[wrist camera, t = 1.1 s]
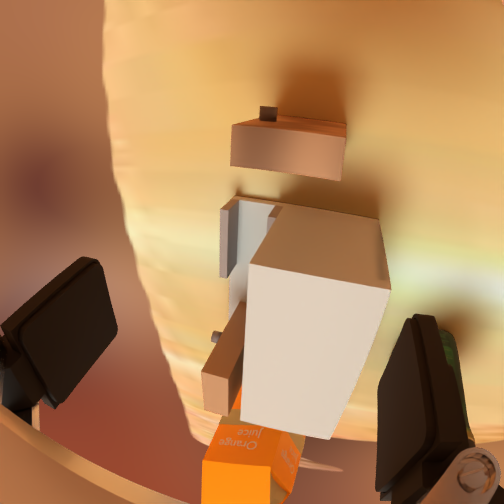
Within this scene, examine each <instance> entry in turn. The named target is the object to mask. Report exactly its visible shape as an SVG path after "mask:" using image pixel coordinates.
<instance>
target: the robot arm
mask: <svg viewBox="0 0 504 504" xmlns="http://www.w3.org/2000/svg"><path fill="white" fill-rule="evenodd" d="M0 326H1V328H2V330H3V332H4V334H5V335H4V336H3V337H1V335H0V504H188V503H186V502H183V501H179V500H177V499H174V498H171V497H168V496H165V495H163V494H160V493H157V492H155V491H153V490H150V489H148V488H145V487H143V486H141V485H138V484H136V483H133V482H131V481H129V480H127V479H124V478H122V477H120V476H118V475H116V474H114V473H112V472H110V471H108V470H106V469H103V468H101V467H100V466H98V465H96V464H94V463H92V462H90V461H88V460H86V459H84V458H82V457H81V456H79V455H77V454H75V453H73V452H72V451H70V450H69V449H67V448H65V447H63V446H62V445H60V444H58V443H57V442H55V441H54V440H52V439H50V438H49V437H47V436H45V435H44V434H43V433H41V432H40V427H39V400H40V399H42V400H43V402H44V403H45V404H47V405H48V406H50V407H52V408H53V409H56V408H57V406H58V405H59V404H60V403H63V402H64V401H65V400H66V399H67V397H68V396H69V395H70V393H71V392H72V391H73V390H74V388H75V387H76V385H77V384H78V383H79V382H80V381H81V379H82V378H83V377H84V375H85V374H86V373H87V372H88V370H89V369H90V368H91V366H92V365H93V364H94V363H95V361H96V360H97V359H98V358H99V356H100V355H101V354H102V353H103V352H104V350H105V349H106V348H107V347H108V345H109V344H110V343H111V341H112V340H113V339H114V338H115V336H116V335H117V331H118V328H117V327H118V326H117V323H116V319H115V315H114V312H113V308H112V304H111V301H110V296H109V292H108V288H107V284H106V280H105V275H104V271H103V267H102V266H101V265H100V262H99V261H98V260H97V259H93V258H89V257H80V258H79V259H77V260H76V261H75V262H74V263H72V264H71V265H70V266H69V267H67V268H66V269H65V270H64V271H62V272H61V273H60V274H59V275H57V276H56V277H55V278H54V279H53V280H51V282H49V283H48V284H47V285H45V286H44V287H43V288H42V289H41V290H40V291H38V292H37V293H36V294H35V295H34V296H33V297H31V298H30V299H29V300H28V301H27V302H26V303H24V304H23V305H22V306H21V307H20V308H19V309H18V310H17V311H15V312H14V313H13V314H12V315H11V316H10V317H9V318H8V319H7V320H6V321H4V322H3V323H2V325H0ZM377 398H378V431H377V465H376V481H375V489H376V491H377V492H381V493H380V501H391V504H504V489H503V488H502V487H501V486H500V485H499V481H500V475H501V471H500V467H499V463H498V461H497V460H496V458H495V457H494V456H493V455H492V454H491V453H490V452H489V451H487V450H485V449H483V448H478V447H473V448H469V441H468V435H467V429H466V423H465V418H464V413H463V408H462V403H461V398H460V394H459V389H458V385H457V381H456V377H455V373H454V369H453V367H452V366H451V365H450V364H448V363H447V359H446V355H445V351H444V347H443V344H442V340H441V337H440V333H439V330H438V326H437V323H436V320H435V317H434V316H430V315H422V314H414V315H413V317H412V319H411V318H407V319H406V321H405V323H404V325H403V328H402V331H401V333H400V336H399V338H398V341H397V343H396V345H395V348H394V350H393V352H392V355H391V357H390V359H389V362H388V364H387V366H386V368H385V371H384V373H383V375H382V377H381V379H380V382H379V385H378V391H377Z"/></svg>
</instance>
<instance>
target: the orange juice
mask: <svg viewBox="0 0 504 504" xmlns="http://www.w3.org/2000/svg"><path fill="white" fill-rule="evenodd" d="M241 397H242V386H241V388H240V390H239V393H238V395H237V397H236V400H235V402H234V405H233V407H232V409H231V412H230V414H229V416H228V417H226V416H222V418H221V420H220V422H219V426H218V428H217V430H216V432H215V435H214V437H213V439H212V441H211V443H210V446H209V448H208V450H207V452H206V454H205V457H204V459H203V461H202V504H283V503H284V501H285V500H286V499H287V497H288V496H289V494H290V493H291V492H292V488H293V485H294V481H295V477H296V473H297V469H298V465H299V461H300V457H301V455H302V451H303V447H304V442H305V436H306V435H300V434H296V433H291V432H286V431H281V430H277V429H273V428H268V427H264V426H260V425H256V424H252V423H248V422H244V421H241V420H240V415H241Z"/></svg>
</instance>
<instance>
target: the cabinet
mask: <svg viewBox="0 0 504 504" xmlns="http://www.w3.org/2000/svg"><path fill="white" fill-rule="evenodd" d="M229 275H230V280H229V322H228V324H227V326H226V327H225V329H224V331H223V333H222V332H218V331H214V332H213V334H212V337H211V342H214V343H217V344H216V345H215V347H214V349H213V351H212V353H211V355H210V356H209V358H208V360H207V362H206V364H205V365H204V367H203V369H202V371H201V376H202V387H203V398H204V408H205V410H206V411H210V412H213V413H216V414H220V415H223V416H226V417H228V416H229V414H230V412H231V409H232V407H233V405H234V402H235V400H236V397H237V395H238V393H239V390H240V388H241V386H242V397H241V415H240V420H241V421H244V422H248V423H252V424H256V425H260V426H264V427H268V428H273V429H277V430H281V431H286V432H291V433H296V434H300V435H306V436H312V437H317V438H323V439H328V440H329V439H330V438H331V436H332V434H333V432H334V430H335V428H336V426H337V424H338V422H339V420H340V417H341V415H342V413H343V411H344V409H345V407H346V405H347V403H348V400H349V398H350V396H351V394H352V392H353V389H354V387H355V385H356V383H357V380H358V378H359V376H360V373H361V371H362V368H363V366H364V364H365V361H366V359H367V356H368V354H369V351H370V349H371V346H372V344H373V341H374V338H375V336H376V333H377V330H378V328H379V325H380V322H381V319H382V317H383V314H384V311H385V308H386V305H387V302H388V299H389V296H390V293H391V284H390V277H389V271H388V265H387V259H386V254H385V248H384V243H383V238H382V233H381V228H380V223H379V220H378V219H373V218H368V217H362V216H357V215H352V214H346V213H341V212H335V211H329V210H324V209H318V208H312V207H306V206H300V205H293V204H287V203H281V202H274V201H268V200H261V199H254V198H247V197H240V196H234V197H233V198H232V199H231V200H230V201H229V202H228V203H227V204H226V205H224V206H223V207H222V208H221V209H220V277H222V278H228V276H229Z"/></svg>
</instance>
